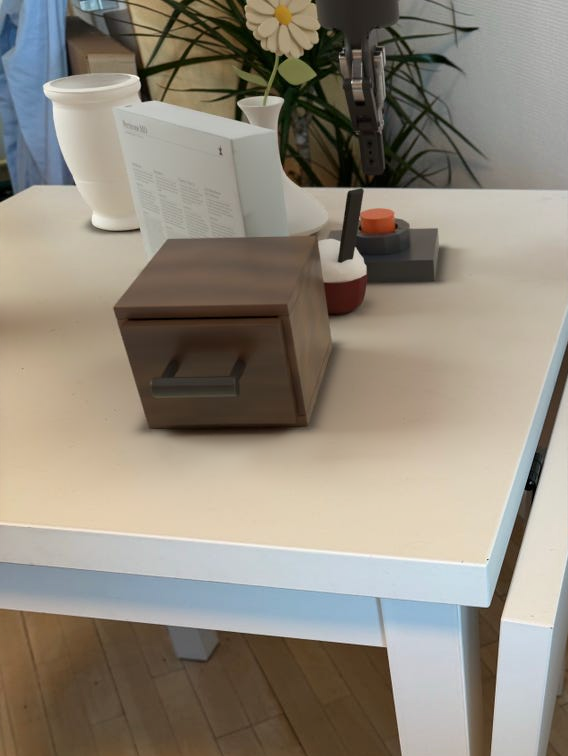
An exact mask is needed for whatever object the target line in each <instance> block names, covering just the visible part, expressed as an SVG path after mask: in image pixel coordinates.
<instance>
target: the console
mask: <svg viewBox="0 0 568 756" xmlns="http://www.w3.org/2000/svg"><path fill="white" fill-rule="evenodd" d="M410 227H411V225H410V223H409V222H408V221H406V220H404V219H401V218H396V217H395V230H393V231H391V232H386V233H381V234H369V233H364V232H362V231H361V222H360V219H359V225H358V231H357V237H356V244H355V247H356V248H357V250H358V252H359V254H360V255H361V256H362V257H363V259H364V263H365V265H366V268H367V284H368V283H410V282H412V283H413V282H415V283H417V282H435V281H436V273H437V267H438V260H439V259H438V258H439V252H440V239H439V228H437V227H431V228H430V227H427V228H410ZM341 235H342V229H337V230H336V229H335V230H334V229H332V230H330V231H329V233H328V235H327V238H326V239H335V240H338V241H340V242H341Z"/></svg>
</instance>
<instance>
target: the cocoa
mask: <svg viewBox="0 0 568 756" xmlns="http://www.w3.org/2000/svg"><path fill="white" fill-rule="evenodd" d="M364 193H365V189H363V188H362V187H361V188H355V189H351V190H348V191H347V193H346V201H345V206H344V215H343V222H342V229H341V230H342V235H341V242H340V241H338V240H335V239H327V238H324V239H321V240H318V245H319V246H318V247H319V252H320V260H321V267H322V274H323V281H324V289H325V296H326V303H327V310H328V315H344V314H348V313H351V312H353V311H354V310H356V309H357V308H359V307H360V306H361V305H362V304H363V301H364V299H365V295H366V292H367V291H366V290H367V284H368V283H367V268H366V265H365V263H364V259H363V257H362V256H361V255H360V254H359V252H358V250H357V248H356V247H355V244H356V237H357V231H358V225H359V220H360V213H361V212H362V204H363V198H364Z"/></svg>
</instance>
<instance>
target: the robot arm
mask: <svg viewBox="0 0 568 756" xmlns="http://www.w3.org/2000/svg"><path fill="white" fill-rule="evenodd" d="M314 2H315V5H316V9H317V17H318V19H317V20H318V22H319V24H320V27H322V28H323V29H326V30H329V31H340V32H342V33H343V35H344V40H343V41H344V47H342V52H338V53H339V54H338V60H339V68H340V73H341V75H342V76H343V80H342V85H341V86H342V91H343V92H344V96H345V101H346V105H347V109H348V113H349V118H350V122H351V128H352V130H353V132H354V133H355V134H356V135H358V136H357V137H358V142H359V143H358V144H359V152H360V153H359V154H360V164H361V171H362V174H363V175H365V176H381V175H383V174H384V172H385V169H386V160H385V149H384V139H383V130H384V126H385V120H384V118H385V114H386V107H385V100H386V99H387V98H386V97H387V93H386V91H387V90H386V82H385V79H386V78H385V67H386V64H387V61H386V60H387V59H386V50H385V46H384V45H383V46H381V45H380V46H379V45H378V37H377V36H378V35H377V30H379V29H385V28H390V27H392V26H394V25H396V24H397V23H398V22H399V19H400V5H399V0H315V1H314Z"/></svg>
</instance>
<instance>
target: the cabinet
mask: <svg viewBox="0 0 568 756" xmlns="http://www.w3.org/2000/svg"><path fill="white" fill-rule="evenodd" d="M318 241H319V238H318V235H309V236H282V237H233V238H185V239H167V240H166V242H165V243H164V244H163V245H162V247H161V248H160V249H159V250H158V252H157V253H156V254H155V255H154V257H153V258H152V259H151V260H150V262H149V263H148V262H147V263H146V265H145V266H144V267H143V269H142V270H141V272H139V274H137V276H136V278H135V279H134V280H133V281H132V283H131V284H130V285H129V286H128V288H127V289H126V290H125V291H124V292H123V294H122V296H121V297H119V299H118V300H117V302H116V303H115V304H114V306H113V307H112V310H113V313H114V316H115V319H116V323H117V326H118V331H119V333H120V336H121V337H122V335H121V332H120V329H119V327H120V325H121V324H122V323H123V322H124V321H139V320H143V319H142V318H195V317H249V316H278V318H281V320H282V326H283V332H284V337H285V343H286V349H287V355H288V360H289V366H290V372H291V378H292V383H293V389H294V395H295V401H296V406H297V412H298V418H297V421H296V423H279V424H215V425H150V426H149V425H148V422H147V419H146V416H145V415H144V416H145V420H146V423H147V426H148V429H187V428H194V429H195V428H249V427H250V428H251V427H252V428H255V427H257V428H258V427H259V428H260V427H261V428H262V427H308V426H309V423H310V419H311V417H312V413H313V410H314V406H315V403H316V401H317V397H318V394H319V391H320V387H321V385H322V382H323V378H324V375H325V373H326V368H327V365H328V364H329V363H328V362H329V359H330V356H331V352H332V350H333V341H332V340H333V339H332V333H331V325H330V319H329V314H328V310H327V303H326V296H325V289H324V281H323V274H322V267H321V260H320V252H319V247H318V246H319V245H318ZM121 340H122V343H123V346H124V347H125V345H124V342H123V339H122V338H121ZM124 350H125V353H126V356H127V357H128V355H127V352H126V349H125V348H124ZM127 359H128V358H127ZM128 363H129V366H130V367H131V365H130V362H129V359H128ZM130 369H131V368H130ZM131 373H132V374H133V372H132V369H131ZM133 380H134V383H135V384H136V382H135V379H134V378H133ZM135 386H136V385H135ZM136 390H137V393H138V394H139V392H138V389H137V386H136ZM138 397H139V400H140V403H141V404H142V402H141V399H140V396H139V395H138ZM141 406H142V405H141ZM142 410H143V413H144V414H145V412H144V409H143V406H142Z"/></svg>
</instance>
